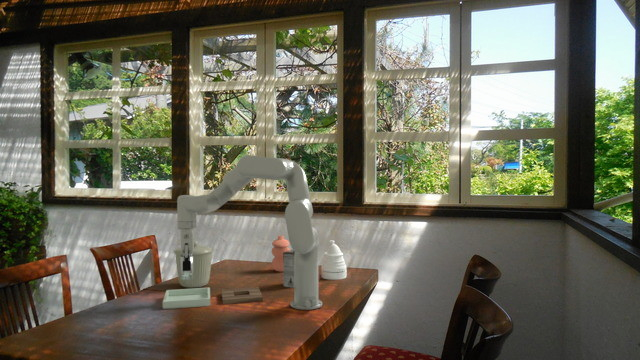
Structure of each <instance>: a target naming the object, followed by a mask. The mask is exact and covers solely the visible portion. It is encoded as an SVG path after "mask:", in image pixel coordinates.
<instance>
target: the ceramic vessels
mask: <svg viewBox="0 0 640 360" xmlns="http://www.w3.org/2000/svg"><path fill="white" fill-rule="evenodd" d="M284 237H285V236H284V235H277V239H275V240H272V242H271V244H272V246H273V248H272V249H271V254H272V256H273V258H272V260H271V268H272V269H273V270H274V271H275V272H278V273H279V272H281V273H282V272H283V252H287V251H290V250H291V249H290V248H289V246H290V242H289V239H285V238H284ZM279 279H280V280H281V281H283V282H284V276H283V275H281V276H280V277H279ZM321 279H322V277H321V275H320V274H318V281H319V280H321Z"/></svg>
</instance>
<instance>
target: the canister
mask: <svg viewBox="0 0 640 360" xmlns="http://www.w3.org/2000/svg"><path fill="white" fill-rule="evenodd" d="M214 251H215V250H214V249H213V248H212V247H210V246H208V245H199V242H198V241H197V240H194V253H193V279H189V280H182V279H181V254H182V253H181V246H180V247H177V248H176V250H174V251H173V253H174V255H175V261H176V262H175V263H176V270H177V278H178V283H179V285H180V286H182V287H183V288H186V289H194V288H203V287H204V286H206V285H208V284H209V281H210V277H211V268H212V260H213V252H214Z"/></svg>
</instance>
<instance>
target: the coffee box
mask: <svg viewBox="0 0 640 360" xmlns="http://www.w3.org/2000/svg"><path fill="white" fill-rule="evenodd" d="M294 259H295V251H294V250H293V249H290V251H287V252H283V276H284V281H283V287H285V288H293V289H294Z"/></svg>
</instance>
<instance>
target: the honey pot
mask: <svg viewBox="0 0 640 360" xmlns="http://www.w3.org/2000/svg"><path fill="white" fill-rule="evenodd" d="M329 244H330V246H329V247H328V248H327V251H326V252H324V253H323V256H324V259H322V260H323V261H322V264H321V267H320V268H321V271H320V273H321V275H320V276H321V279H325V280H332V281H333V280H343V279H346V278H347V275H348V274H347V272H348V271H347V265H346V262H345V259H344V253H343V252H342V250H341V248H340V247H339V246H338V245H337V244H335V240H333V239H331V240H329Z"/></svg>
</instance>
